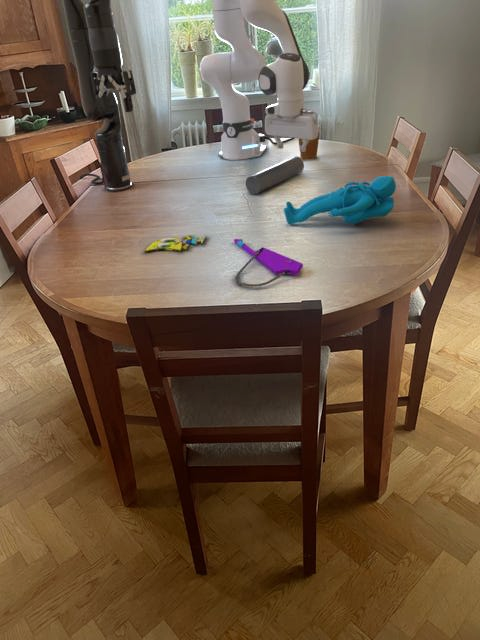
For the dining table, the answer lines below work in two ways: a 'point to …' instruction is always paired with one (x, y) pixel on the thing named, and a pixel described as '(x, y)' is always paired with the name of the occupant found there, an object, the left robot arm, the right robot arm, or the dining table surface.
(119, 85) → the left robot arm
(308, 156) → the cup of beer
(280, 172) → the rod
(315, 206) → the toy
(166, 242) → the toy
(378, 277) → the dining table surface
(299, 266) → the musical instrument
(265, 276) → the dining table surface
